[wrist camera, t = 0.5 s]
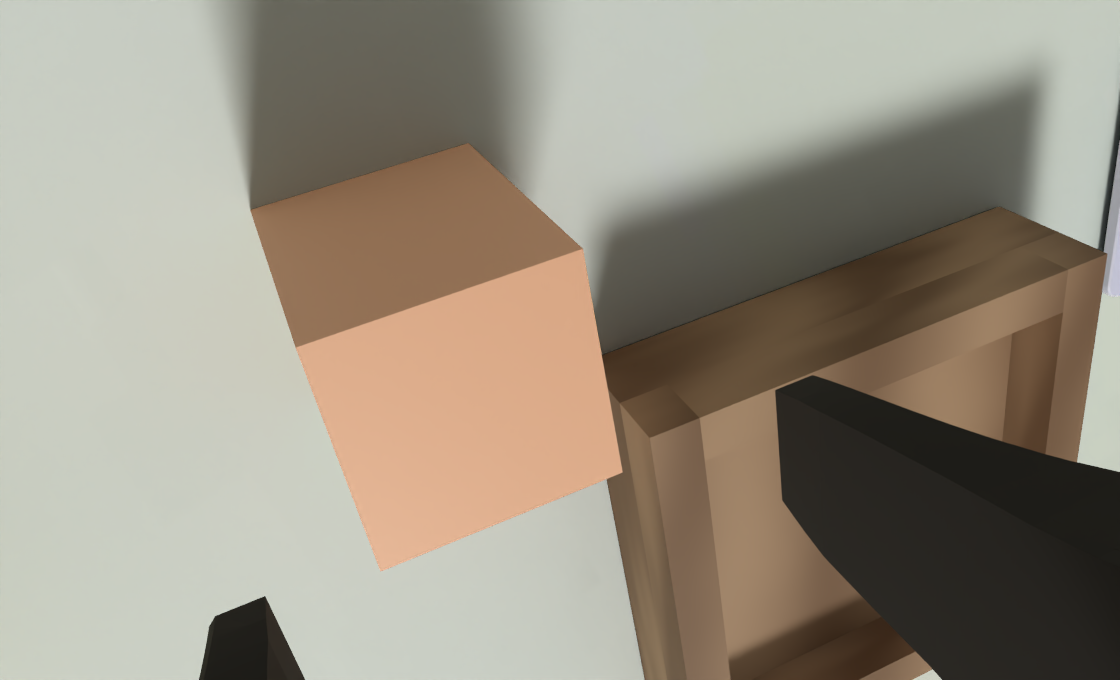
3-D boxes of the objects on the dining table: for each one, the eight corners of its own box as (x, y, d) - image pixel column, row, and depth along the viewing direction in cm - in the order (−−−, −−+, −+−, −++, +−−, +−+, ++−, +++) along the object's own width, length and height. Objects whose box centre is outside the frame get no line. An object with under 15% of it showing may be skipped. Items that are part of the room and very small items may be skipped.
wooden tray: (999, 206, 26) (1107, 253, 23) (973, 538, 33) (1055, 607, 30) (584, 362, 23) (650, 438, 20) (647, 692, 30) (703, 784, 27)
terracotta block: (467, 142, 20) (582, 248, 15) (511, 327, 22) (622, 472, 17) (250, 209, 19) (295, 347, 14) (320, 396, 21) (380, 571, 16)
